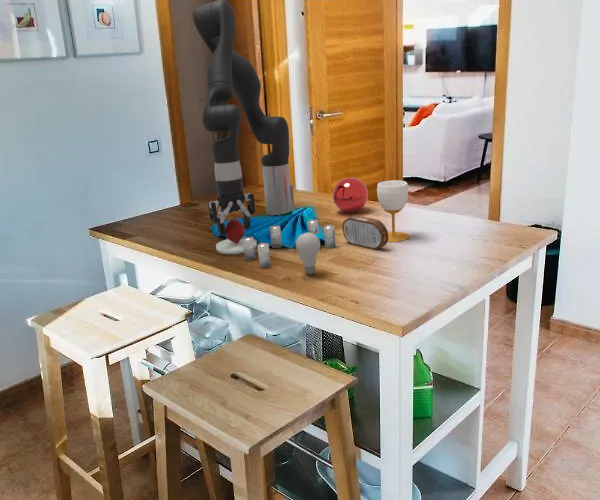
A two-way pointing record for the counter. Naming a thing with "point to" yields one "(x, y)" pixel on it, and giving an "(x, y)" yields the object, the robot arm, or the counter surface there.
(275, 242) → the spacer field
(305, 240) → the lightbulb
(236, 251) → the dish
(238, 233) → the onion
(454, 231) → the counter surface
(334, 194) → the ball
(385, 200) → the cup
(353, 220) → the tin
